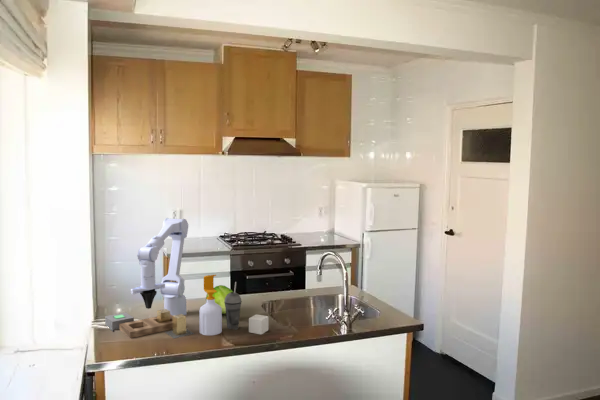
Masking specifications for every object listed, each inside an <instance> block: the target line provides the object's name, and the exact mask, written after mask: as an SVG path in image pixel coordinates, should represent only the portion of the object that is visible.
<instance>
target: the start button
mask: <svg viewBox="0 0 600 400" xmlns="http://www.w3.org/2000/svg"><path fill="white" fill-rule="evenodd" d="M114 318H115V319H120V318H125V316H123V315H117V316H114Z"/></svg>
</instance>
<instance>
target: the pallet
mask: <svg viewBox="0 0 600 400" xmlns="http://www.w3.org/2000/svg"><path fill="white" fill-rule="evenodd" d="M119 328H120V329H119V331H121V333H122V334H124V335H126V336H127V337H128V338H129V339H132V338H137V337H142V336H146V335H147V336H148V335H151V334H156V333H160V332H161V333H162V332H167V331H171V330H173V315H171V314H170V322H165V323H160V324H159V323H158V322H157V316H154V317H149V318H148V317H147V318H143V319H138V320H134V321H132V322H127V323H122V324H119Z"/></svg>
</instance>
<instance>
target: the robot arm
mask: <svg viewBox="0 0 600 400" xmlns="http://www.w3.org/2000/svg"><path fill="white" fill-rule="evenodd" d="M188 231H189V223H188V221H187V219H186V218H169V217H165V218H164V220H163V221H162V227H161V229H160V231H159V232H158V234H157V235H153V236H152V237H151V238H150V240H149V241H148V242H147V243H146V244H145V246H141V247H140V248H139V249H138V251H137V255H136V257H137V259H138V263H139V266H140V285H139V286H137V287H133V288H130V294H131V295H136V294H140V296H141V297H142V300H143V302H144V305H145V309H147V310H149V309H152V306H153V302H154V299H155V297H156V295H157V293H158V291H157V290H159V292H160V294H161V295H162V297H163V304H164V305H163V306H164V307H163V309H167V310H169V311H170V314H171V315H173V316H174V315H179V314H183V315H184V316H187V297H186V296H185V294H184V293H185V289H186V288H185V287H186V286H185V279H184V278H183V277H182V276H181V275H180V274H181V273H180V272H181V266H182V259H183V250H184V244H185V239H186V238H187V236H188V233H189V232H188ZM168 237H170V238H171V239H172V244H171V250H170V258H169V264H168V271H167V274H166V275H165V276H163V277H162V278H161V282H159V283H156V260H158V257H159V255H160V250H161V249H162V248H163V247H164V245H165V241H166V239H167V238H168Z"/></svg>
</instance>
